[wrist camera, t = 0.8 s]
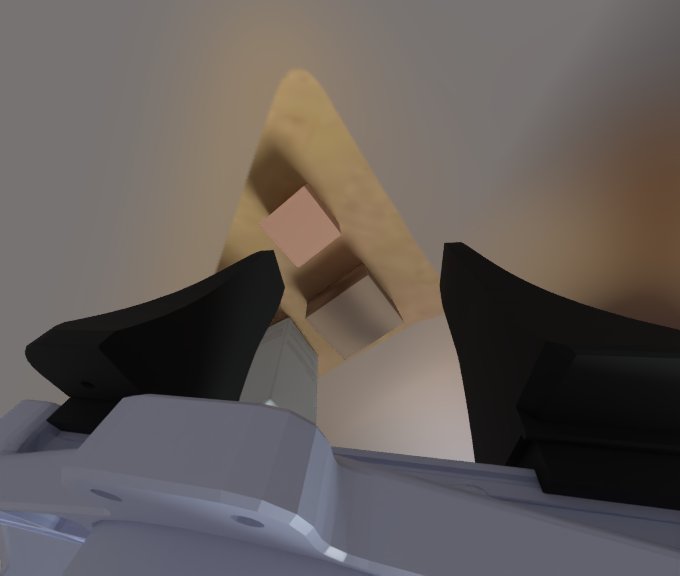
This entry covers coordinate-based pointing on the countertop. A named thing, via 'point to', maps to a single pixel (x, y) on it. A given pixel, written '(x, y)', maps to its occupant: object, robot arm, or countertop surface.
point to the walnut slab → (353, 312)
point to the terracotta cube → (302, 226)
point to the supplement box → (284, 371)
